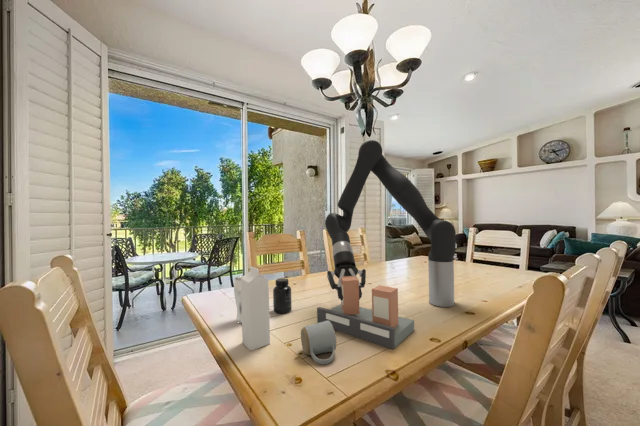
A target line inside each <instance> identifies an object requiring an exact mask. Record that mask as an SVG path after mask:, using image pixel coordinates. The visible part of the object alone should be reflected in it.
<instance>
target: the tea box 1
mask: <svg viewBox="0 0 640 426" xmlns="http://www.w3.org/2000/svg"><path fill="white" fill-rule="evenodd" d="M356 277H357V276H356ZM356 277H355V276H343V277H341V283H342V284H341V287H342V294H343V300H342V301H341V300H340V302H341V303H340V304H341V309H342V311H343V313H344V314H347V315H351V314H360V309H359V307H360V300H359V282H360V280H359V278H358V277H357V278H358V279H357V278H356Z"/></svg>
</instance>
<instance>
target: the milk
mask: <svg viewBox="0 0 640 426" xmlns="http://www.w3.org/2000/svg"><path fill="white" fill-rule="evenodd" d="M242 276H243V277H242V278H241V302H242V324H241V337H242V338H241V339H242V340H241V341H242V344H243V345H244V346H246V348H248V350H249V351H250V352H251V351H253V350H257V349H260V348H263V347H266V346H268V345H270V344H271V337H270V335H271V333H270V332H271V331H270V329H271V327H270V326H271V325H270V293H269V292H270V290H269V289H270V288H269V284H270V283H269V278H268V277H265V276H264V275H261V274H260V270H259V268H257V267H254V266H252V265H251V266H250V267H249V272H247V273H246V274H244V275H242Z"/></svg>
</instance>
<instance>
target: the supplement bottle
mask: <svg viewBox="0 0 640 426" xmlns="http://www.w3.org/2000/svg"><path fill="white" fill-rule="evenodd" d="M289 284H290V283H289V279H288V278H285V277H283V278H282V277H281V278H276V279H275V286H274V288H273V290H272V292H273V293H272V295H273V296H272V297H273V298H272V299H273V302H272V303H273V312H274V313H275V314H278V315H286V314H289V313H290V312H291V311H292V307H293V305H292V303H293V302H292V288H291V286H290V285H289Z"/></svg>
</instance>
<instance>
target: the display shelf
mask: <svg viewBox="0 0 640 426" xmlns="http://www.w3.org/2000/svg"><path fill="white" fill-rule="evenodd" d="M359 309H360V314H351V315H347V314H344V313H343V311H342V309H341V303H340V304H339V305H336V306H334V307H332V308H330V309H328V308H325V307H321V306H318V307H316V310H317V311H316V323H320V322H324V321H330V322H331V324H332V326H333V328H334V331H337V332H340V333H343V334H346V335H347V336H351V337H355V338H358V339H361V340H364V341H367V342H369V343H372V344H375V345H378V346H381V347H385V348H387V349H391V350H394V349H395V348H396V347H397V346H398V345H400V344H401V343H402V342H403V341H404V340H405V339H406V338H407V337H408V336H409V335H411V334H412V332H414V331H415V320H414V319H410V318H406V317H403V316H398V325H397V326H396V327H395V328H394V327H390V326H387V325H383V324H379V323H376V322H372V309H371V308H370V309H369V308H366V307H361V306H359Z"/></svg>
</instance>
